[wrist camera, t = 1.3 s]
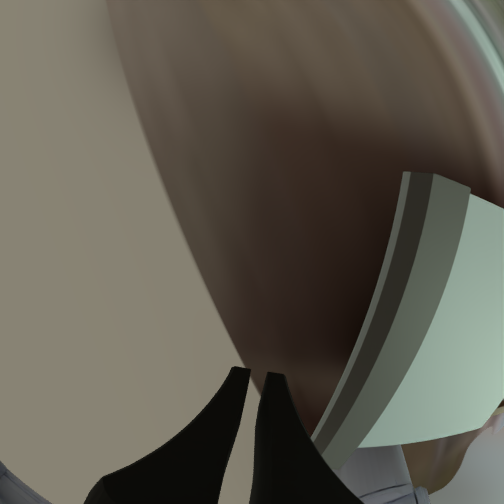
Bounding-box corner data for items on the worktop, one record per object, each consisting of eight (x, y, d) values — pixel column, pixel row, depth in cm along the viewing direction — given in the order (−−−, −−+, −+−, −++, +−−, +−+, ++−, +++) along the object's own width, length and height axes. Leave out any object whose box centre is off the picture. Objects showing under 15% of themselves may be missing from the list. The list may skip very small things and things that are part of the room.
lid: (478, 422, 15) (488, 440, 12) (309, 439, 16) (311, 469, 13) (564, 244, 10) (586, 255, 7) (403, 171, 11) (433, 173, 8)
